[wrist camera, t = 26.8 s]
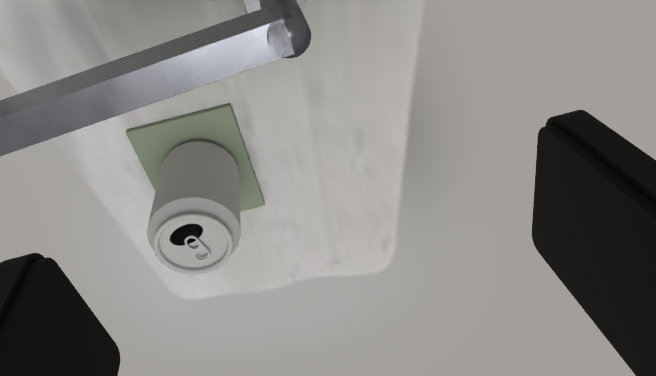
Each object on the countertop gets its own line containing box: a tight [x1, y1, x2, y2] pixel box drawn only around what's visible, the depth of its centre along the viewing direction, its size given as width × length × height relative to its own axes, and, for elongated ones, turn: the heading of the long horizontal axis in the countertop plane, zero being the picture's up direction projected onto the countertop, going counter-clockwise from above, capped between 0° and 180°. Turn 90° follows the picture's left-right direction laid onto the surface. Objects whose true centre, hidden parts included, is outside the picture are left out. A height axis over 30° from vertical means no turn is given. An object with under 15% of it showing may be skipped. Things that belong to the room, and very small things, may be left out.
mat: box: [126, 104, 265, 211], centre depth 49 cm, size 12×10×1 cm
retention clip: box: [0, 0, 311, 156], centre depth 32 cm, size 22×3×17 cm, turn 106°
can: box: [147, 141, 241, 274], centre depth 44 cm, size 8×8×12 cm
